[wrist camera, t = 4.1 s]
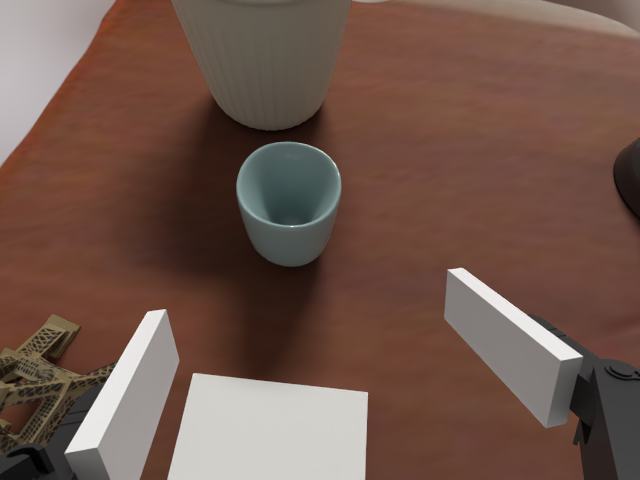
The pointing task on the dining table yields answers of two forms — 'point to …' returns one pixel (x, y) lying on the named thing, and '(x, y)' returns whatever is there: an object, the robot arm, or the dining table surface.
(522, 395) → the robot arm
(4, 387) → the eiffel tower
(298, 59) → the canister
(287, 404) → the mat
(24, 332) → the dining table surface
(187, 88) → the dining table surface
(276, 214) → the cup
